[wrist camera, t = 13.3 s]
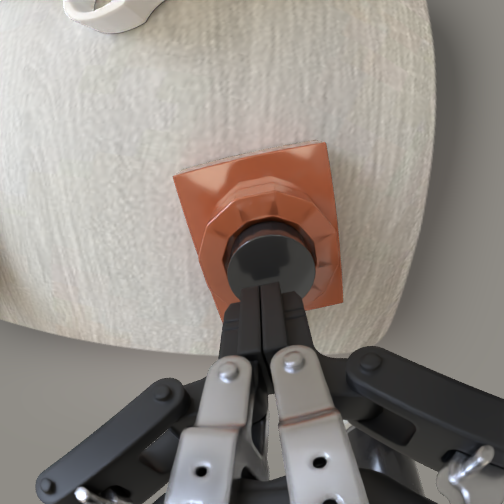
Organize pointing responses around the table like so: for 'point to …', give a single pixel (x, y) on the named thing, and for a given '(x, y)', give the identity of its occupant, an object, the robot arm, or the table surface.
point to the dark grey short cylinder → (271, 259)
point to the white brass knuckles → (110, 14)
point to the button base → (264, 212)
